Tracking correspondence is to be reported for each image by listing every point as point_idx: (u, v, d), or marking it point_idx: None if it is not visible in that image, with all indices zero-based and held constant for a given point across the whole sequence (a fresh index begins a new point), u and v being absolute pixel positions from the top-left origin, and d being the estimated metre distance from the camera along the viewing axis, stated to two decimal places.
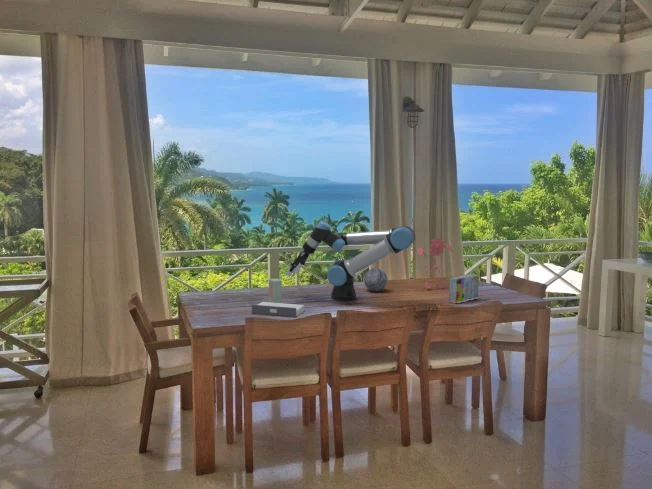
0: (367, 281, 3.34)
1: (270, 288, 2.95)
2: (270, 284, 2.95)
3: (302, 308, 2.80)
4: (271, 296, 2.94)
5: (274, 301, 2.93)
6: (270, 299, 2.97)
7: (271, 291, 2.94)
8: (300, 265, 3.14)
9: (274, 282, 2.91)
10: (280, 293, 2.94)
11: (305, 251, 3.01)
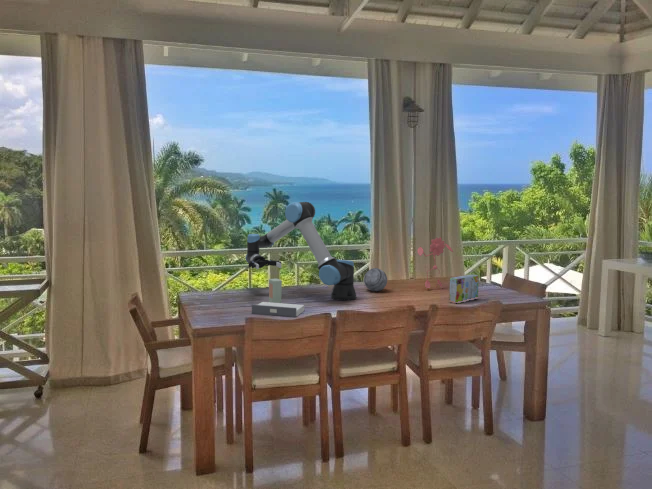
0: (367, 281, 3.34)
1: (270, 288, 2.95)
2: (270, 284, 2.95)
3: (302, 308, 2.80)
4: (271, 296, 2.94)
5: (274, 301, 2.93)
6: (270, 299, 2.97)
7: (271, 291, 2.94)
8: (276, 263, 3.11)
9: (274, 282, 2.91)
10: (280, 293, 2.94)
11: (254, 262, 3.17)
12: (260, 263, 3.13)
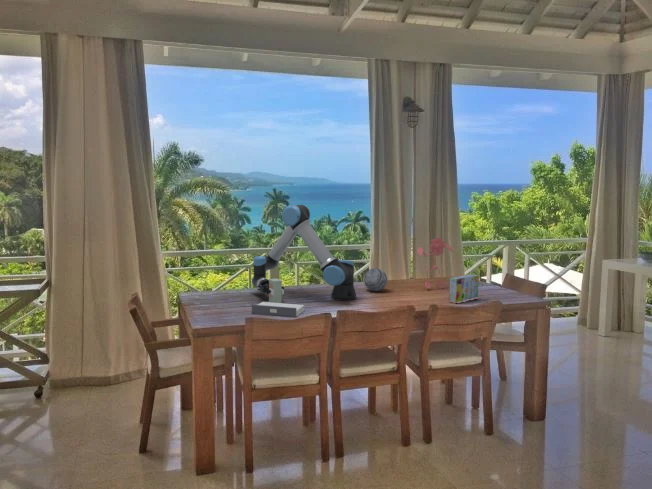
0: (367, 281, 3.34)
1: (270, 287, 2.95)
2: (270, 284, 2.95)
3: (302, 308, 2.80)
4: (271, 296, 2.94)
5: (274, 301, 2.93)
6: (270, 299, 2.97)
7: None
8: None
9: (274, 282, 2.91)
10: (280, 293, 2.94)
11: None
12: (267, 288, 3.03)
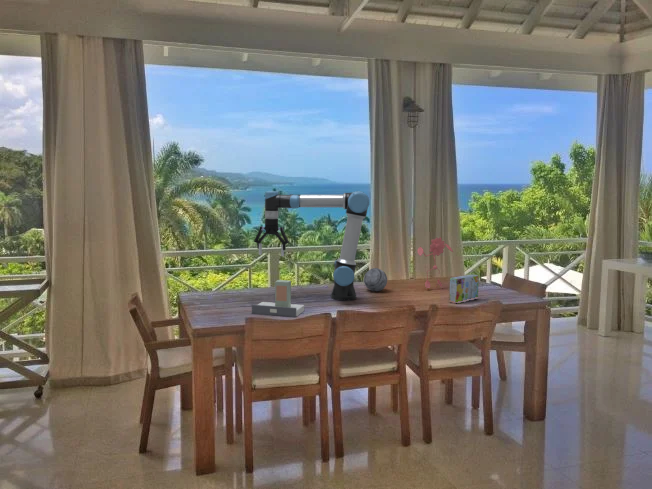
0: (367, 281, 3.34)
1: (280, 290, 2.73)
2: (280, 286, 2.73)
3: (302, 308, 2.80)
4: (283, 299, 2.73)
5: (288, 304, 2.74)
6: (278, 303, 2.74)
7: (283, 294, 2.73)
8: (261, 244, 3.03)
9: (288, 283, 2.73)
10: (290, 294, 2.77)
11: (277, 225, 2.99)
12: (273, 234, 3.00)
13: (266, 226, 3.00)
